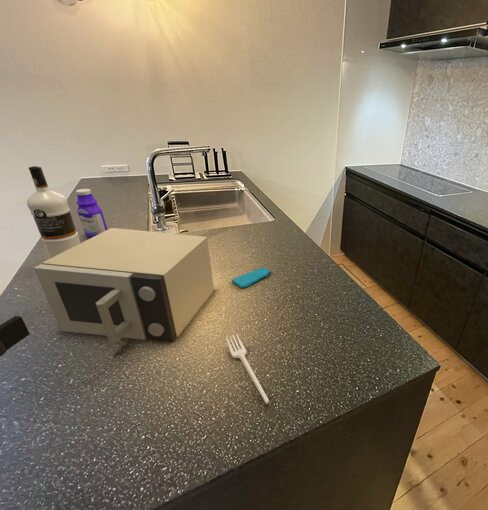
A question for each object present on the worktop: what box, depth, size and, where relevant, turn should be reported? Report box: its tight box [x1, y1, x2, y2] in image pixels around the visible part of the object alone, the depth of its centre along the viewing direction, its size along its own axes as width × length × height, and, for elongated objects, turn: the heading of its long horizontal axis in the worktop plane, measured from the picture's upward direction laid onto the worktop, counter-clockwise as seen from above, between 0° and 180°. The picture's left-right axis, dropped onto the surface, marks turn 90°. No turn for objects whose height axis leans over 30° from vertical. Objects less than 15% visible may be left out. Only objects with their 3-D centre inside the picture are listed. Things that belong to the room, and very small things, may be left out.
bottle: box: [75, 188, 108, 239], centre depth 110 cm, size 7×6×17 cm
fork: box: [226, 332, 271, 405], centre depth 64 cm, size 3×20×2 cm, turn 36°
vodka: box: [26, 165, 82, 260], centre depth 88 cm, size 9×9×30 cm
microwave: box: [41, 227, 215, 343], centre depth 75 cm, size 22×26×17 cm
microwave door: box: [33, 263, 147, 345], centre depth 64 cm, size 7×20×17 cm, turn 87°
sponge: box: [231, 267, 272, 289], centre depth 95 cm, size 2×12×6 cm
